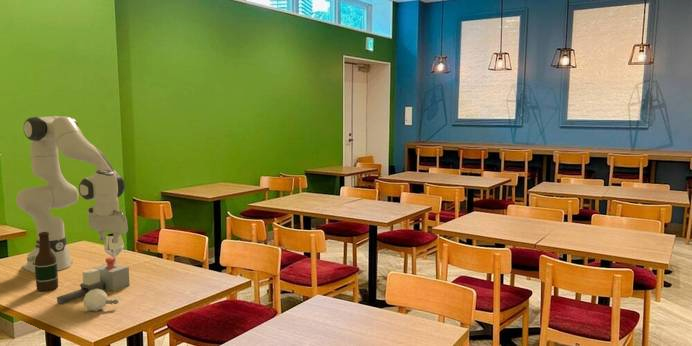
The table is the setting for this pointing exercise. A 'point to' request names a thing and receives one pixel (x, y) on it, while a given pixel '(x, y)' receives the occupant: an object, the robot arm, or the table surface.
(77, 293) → the rail
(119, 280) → the grey holed block
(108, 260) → the plunger
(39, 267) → the beer bottle
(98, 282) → the cream box
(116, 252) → the wineglass
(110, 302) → the perfume bottle
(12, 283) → the table surface
